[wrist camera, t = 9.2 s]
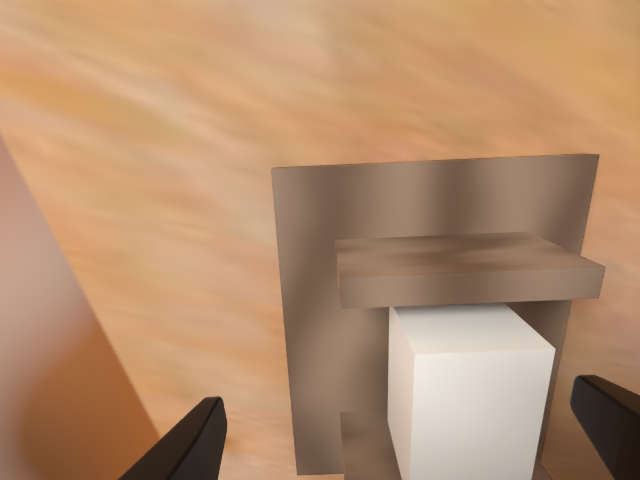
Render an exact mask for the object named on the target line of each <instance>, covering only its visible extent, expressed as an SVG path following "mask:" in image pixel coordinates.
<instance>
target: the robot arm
mask: <svg viewBox="0 0 640 480" xmlns="http://www.w3.org/2000/svg"><path fill="white" fill-rule="evenodd" d="M570 405H571V409H572V411H573V413H574V415H575V416H576V418H577V420H578V421H579V423H580V425H581V426H582V428H583V430H584V431H585V433H586V434H587V436H588V438H589V439H590V441H591V443H592V444H593V446H594V447H595V449H596V451H597V452H598V454H599V456H600V457H601V459H602V461H603V462H604V464H605V465H606V467H607V469H608V470H609V472H610V473H611V475H612V476H613V478H614V479H615V480H640V395H638V394H635V393H633V392H631V391H629V390H627V389H625V388H622V387H620V386H618V385H616V384H614V383H612V382H609V381H607V380H605V379H603V378H601V377H598V376H596V375H580V376H577V377H576V378H575V379H574V383H573V389H572V394H571V399H570ZM226 433H227V419H226V414H225V408H224V403H223V400H222V398H221V397H219V396H217V397H206V398H204V399H203V400H202V401H201V402H200V403H199V404H198V405H196V406H195V407H194V408H193V409H192V410H191V411H190V412H189V413H188V414H187V415H186V416H185V417H184V418H183V419H182V420H180V421H179V422H178V423H177V424H176V425H175V426H174V427H173V428H172V429H171V430H170V431H169V432H168V433H167V434H166V435H164V436H163V437H162V438H161V439H160V440H159V441H158V442H157V443H156V444H155V445H154V446H153V447H152V448H151V449H150V450H149V451H147V452H146V453H145V454H144V455H143V456H142V457H141V458H140V459H139V460H138V461H137V462H136V463H135V464H134V465H133V466H132V467H131V468H129V469H128V470H127V471H126V472H125V473H124V474H123V475H122V476H121V477H120V478H119V479H118V480H218V475H219V470H220V465H221V459H222V454H223V449H224V443H225V438H226Z"/></svg>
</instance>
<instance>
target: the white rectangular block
mask: <svg viewBox="0 0 640 480" xmlns="http://www.w3.org/2000/svg"><path fill="white" fill-rule="evenodd" d="M554 355H555V348H554V347H553V346H552V345H551V344H550V343H548V342H547V341H546V340H545V339H544V338H543V337H542V336H541V335H539V334H538V333H537V332H536V331H535V330H534V329H533V328H532V327H531V326H529V325H528V324H527V323H526V322H525V321H524V320H523V319H522V318H520V317H519V316H518V315H517V314H516V313H515V312H514V311H513V310H511V309H510V308H509V307H508V306H507V305H506V304H505V303H504V302H496V303H472V304H447V305H423V306H399V307H389V360H388V425H389V429H390V433H391V437H392V441H393V445H394V449H395V454H396V458H397V462H398V466H399V470H400V474H401V478H402V480H531V479H532V474H533V468H534V463H535V457H536V452H537V447H538V441H539V436H540V430H541V425H542V420H543V414H544V409H545V403H546V398H547V393H548V387H549V382H550V376H551V371H552V366H553V360H554Z"/></svg>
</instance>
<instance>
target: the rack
mask: <svg viewBox="0 0 640 480" xmlns="http://www.w3.org/2000/svg"><path fill="white" fill-rule="evenodd" d="M598 160H599V154H564V155H542V156H520V157H498V158H475V159H453V160H431V161H409V162H387V163H365V164H343V165H321V166H299V167H276V168H272V169H271V175H272V186H273V198H274V210H275V222H276V233H277V245H278V257H279V269H280V280H281V292H282V304H283V316H284V327H285V339H286V351H287V363H288V374H289V386H290V398H291V410H292V421H293V433H294V445H295V457H296V468H297V475H323V474H344V479H345V480H402V478H401V474H400V470H399V466H398V462H397V458H396V454H395V449H394V445H393V441H392V437H391V433H390V429H389V425H388V360H389V307H399V306H423V305H447V304H472V303H496V302H504V303H505V304H506V305H507V306H508V307H509V308H510V309H511V310H513V311H514V312H515V313H516V314H517V315H518V316H519V317H520V318H522V319H523V320H524V321H525V322H526V323H527V324H528V325H529V326H531V327H532V328H533V329H534V330H535V331H536V332H537V333H538V334H539V335H541V336H542V337H543V338H544V339H545V340H546V341H547V342H548V343H550V344H551V345H552V346H553V347H554V348H555V355H554V360H553V366H552V371H551V376H550V382H549V387H548V393H547V398H546V403H545V409H544V414H543V420H542V425H541V430H540V436H539V441H538V447H537V452H536V457H535V463H534V468H533V474H532V479H531V480H552V478H551V477H550V476H549V474H548V473H547V471H546V470H545V468H544V467H543V465H542V464H541V462H540V460H541V455H542V450H543V445H544V439H545V434H546V429H547V424H548V419H549V414H550V408H551V403H552V398H553V393H554V388H555V383H556V377H557V372H558V367H559V362H560V357H561V352H562V346H563V341H564V336H565V331H566V326H567V321H568V315H569V310H570V305H571V300H572V299H594V298H599V295H600V291H601V286H602V282H603V277H604V273H605V268H606V267H604V266H602V265H600V264H598V263H596V262H593V261H591V260H589V259H587V258H584V257H582V256H580V253H581V248H582V243H583V238H584V233H585V228H586V222H587V217H588V212H589V207H590V202H591V196H592V191H593V186H594V181H595V176H596V171H597V165H598Z"/></svg>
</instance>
